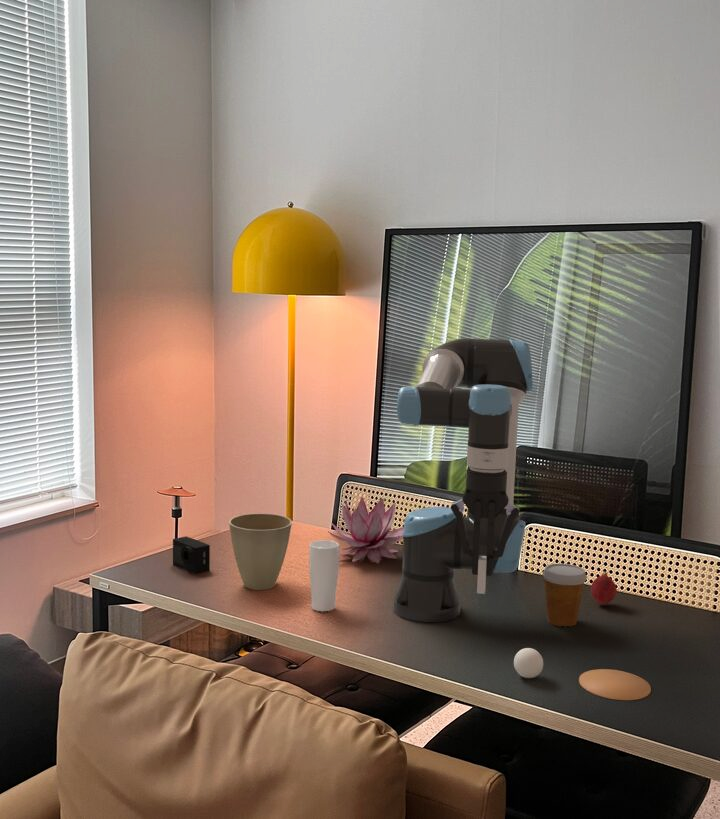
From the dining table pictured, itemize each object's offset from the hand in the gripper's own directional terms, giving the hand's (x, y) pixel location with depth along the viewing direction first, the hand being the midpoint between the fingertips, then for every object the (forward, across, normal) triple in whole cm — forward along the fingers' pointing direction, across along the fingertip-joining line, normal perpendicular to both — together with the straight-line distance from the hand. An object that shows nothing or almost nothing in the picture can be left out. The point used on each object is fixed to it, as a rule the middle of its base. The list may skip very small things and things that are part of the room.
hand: (481, 591), depth 175 cm
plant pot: (+16, -54, +39) cm, 68 cm away
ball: (+13, +10, 0) cm, 16 cm away
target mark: (+16, +26, 0) cm, 30 cm away
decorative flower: (+16, -32, +67) cm, 76 cm away
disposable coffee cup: (+16, +18, +31) cm, 39 cm away
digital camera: (+16, -74, +48) cm, 90 cm away
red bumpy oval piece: (+16, +28, +44) cm, 54 cm away
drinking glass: (+16, -36, +27) cm, 48 cm away
